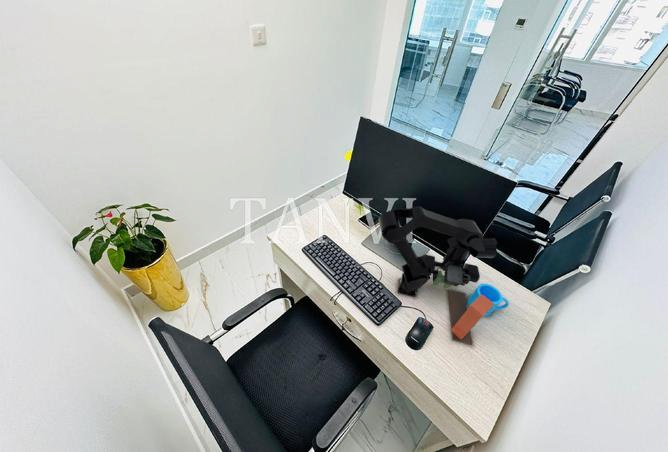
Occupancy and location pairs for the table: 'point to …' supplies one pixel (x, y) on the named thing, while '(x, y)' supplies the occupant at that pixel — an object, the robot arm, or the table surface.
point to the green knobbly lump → (440, 280)
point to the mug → (489, 297)
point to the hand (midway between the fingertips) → (441, 281)
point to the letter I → (472, 316)
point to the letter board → (458, 313)
